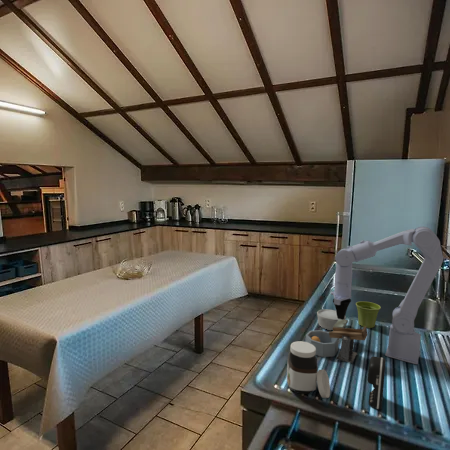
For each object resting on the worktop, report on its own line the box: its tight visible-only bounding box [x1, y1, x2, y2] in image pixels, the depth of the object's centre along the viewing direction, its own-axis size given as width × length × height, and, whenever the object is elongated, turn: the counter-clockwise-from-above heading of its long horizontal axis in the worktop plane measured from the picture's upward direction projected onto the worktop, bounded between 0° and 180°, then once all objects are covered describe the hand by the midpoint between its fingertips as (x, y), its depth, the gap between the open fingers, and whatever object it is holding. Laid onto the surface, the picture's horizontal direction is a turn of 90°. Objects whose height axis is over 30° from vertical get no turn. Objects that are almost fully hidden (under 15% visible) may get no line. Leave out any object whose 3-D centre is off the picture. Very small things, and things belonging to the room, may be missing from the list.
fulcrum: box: [335, 335, 358, 364], centre depth 108 cm, size 5×8×8 cm, turn 146°
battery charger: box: [366, 355, 387, 410], centre depth 85 cm, size 7×4×11 cm, turn 152°
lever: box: [328, 319, 368, 341], centre depth 112 cm, size 12×16×3 cm
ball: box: [311, 336, 320, 342], centre depth 114 cm, size 4×4×4 cm
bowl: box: [304, 329, 340, 358], centre depth 112 cm, size 10×10×4 cm
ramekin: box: [316, 308, 347, 331], centre depth 132 cm, size 11×11×5 cm
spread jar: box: [286, 340, 331, 399], centre depth 89 cm, size 12×11×12 cm
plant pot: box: [355, 300, 382, 329], centre depth 134 cm, size 9×9×9 cm
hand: (340, 318), depth 118 cm, fingers closed
